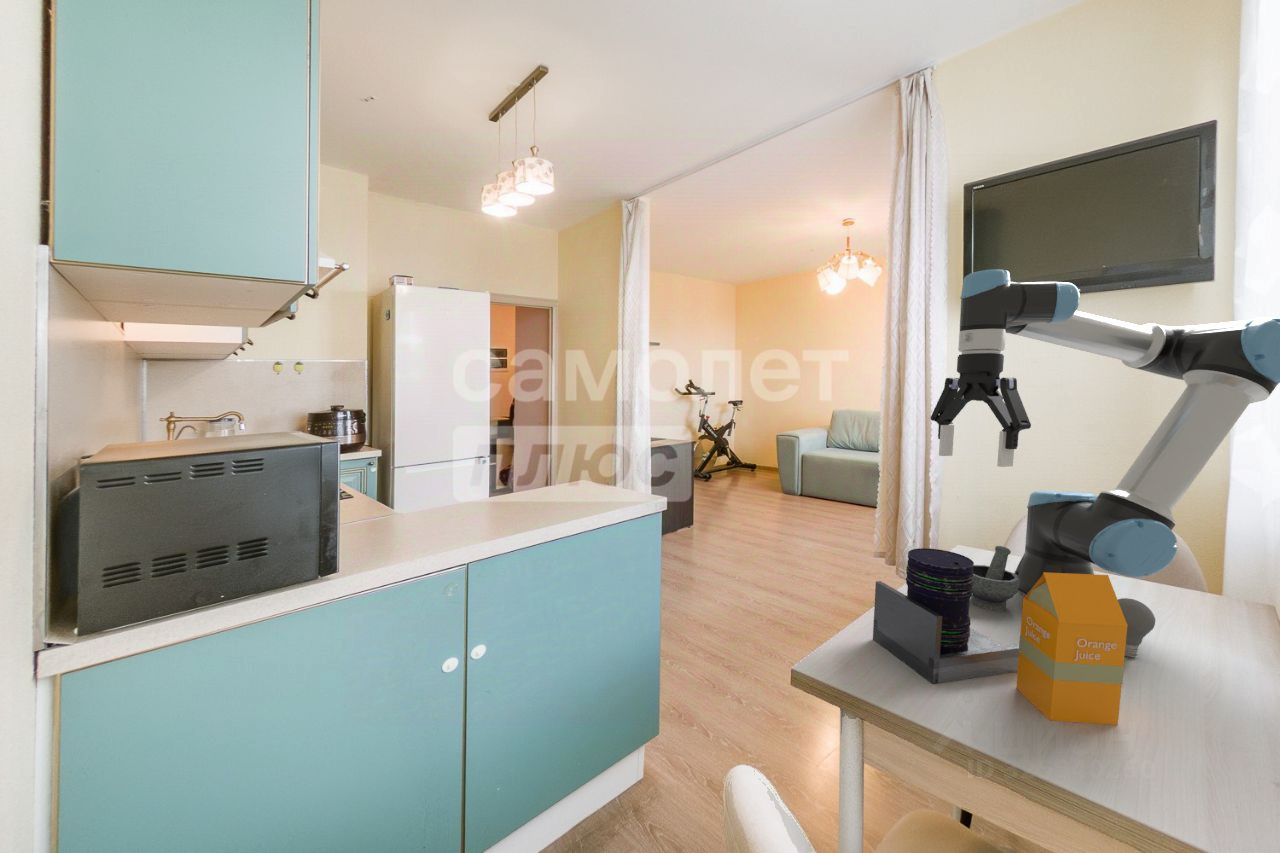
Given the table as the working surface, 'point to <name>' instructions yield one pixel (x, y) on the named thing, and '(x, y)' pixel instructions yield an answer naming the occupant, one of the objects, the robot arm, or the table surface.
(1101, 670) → the orange juice
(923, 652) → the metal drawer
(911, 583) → the dark navy cylinder
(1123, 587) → the table surface
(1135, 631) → the light bulb
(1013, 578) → the mortar and pestle
